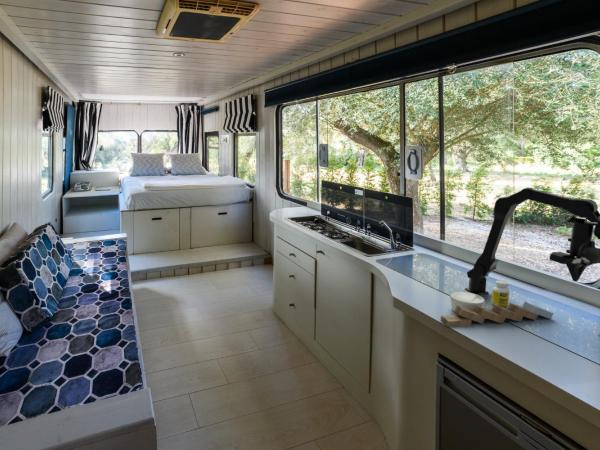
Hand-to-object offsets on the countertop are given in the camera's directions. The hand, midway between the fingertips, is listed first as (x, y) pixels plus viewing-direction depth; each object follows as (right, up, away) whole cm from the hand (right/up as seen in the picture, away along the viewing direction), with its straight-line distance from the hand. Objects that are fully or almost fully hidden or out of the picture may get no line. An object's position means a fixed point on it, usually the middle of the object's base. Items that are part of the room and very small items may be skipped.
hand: (575, 281), depth 142 cm
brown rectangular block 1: (-21, -12, -2) cm, 24 cm away
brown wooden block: (-28, -12, -4) cm, 30 cm away
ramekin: (-36, -12, +5) cm, 38 cm away
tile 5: (-39, -12, -5) cm, 41 cm away
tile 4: (-34, -12, -4) cm, 37 cm away
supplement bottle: (-22, -11, +8) cm, 26 cm away
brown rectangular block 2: (-15, -11, 0) cm, 19 cm away
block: (-9, -11, +1) cm, 15 cm away
